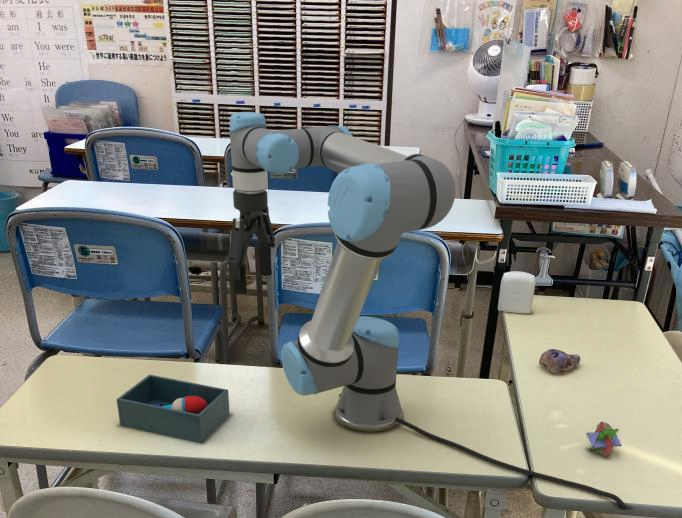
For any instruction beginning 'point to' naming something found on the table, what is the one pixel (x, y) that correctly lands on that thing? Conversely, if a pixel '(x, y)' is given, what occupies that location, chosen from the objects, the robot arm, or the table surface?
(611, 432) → the geometric puzzle
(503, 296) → the photo printer
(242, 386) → the table surface
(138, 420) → the tote
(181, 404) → the toy figure
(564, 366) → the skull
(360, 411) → the robot arm
